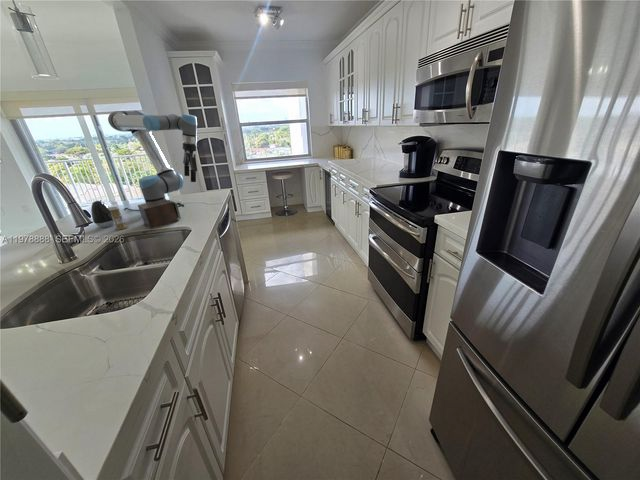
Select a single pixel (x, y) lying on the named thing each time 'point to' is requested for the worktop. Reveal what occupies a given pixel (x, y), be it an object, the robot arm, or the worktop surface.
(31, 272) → the worktop surface
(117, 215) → the sprinkles bottle
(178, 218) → the drawer
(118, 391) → the worktop surface
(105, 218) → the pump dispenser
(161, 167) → the robot arm
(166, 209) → the cabinet
